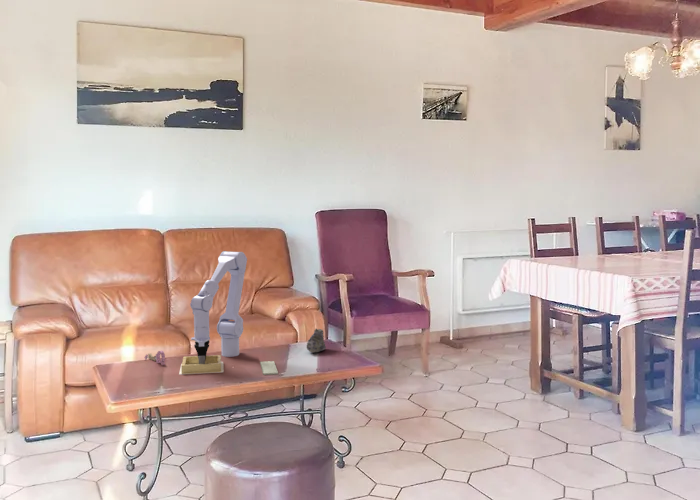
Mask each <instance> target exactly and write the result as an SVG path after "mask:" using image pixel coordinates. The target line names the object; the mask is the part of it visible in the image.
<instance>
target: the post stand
mask: <svg viewBox="0 0 700 500" xmlns="http://www.w3.org/2000/svg"><path fill="white" fill-rule="evenodd" d="M197 356H198V355H197ZM198 357H199V364H205V356H198ZM181 366H182V363H181V364H180V369H179V373H178V375H183V374H182V367H181ZM217 373H218V374H219V373H224V361H221V372H206V373H205V374H217ZM195 374H201V375H202V373H186V374H185V375H195Z"/></svg>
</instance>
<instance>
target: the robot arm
mask: <svg viewBox="0 0 700 500" xmlns="http://www.w3.org/2000/svg"><path fill="white" fill-rule="evenodd" d="M217 261H218V264H217V266H216V268H215V270H214V272H213V274H212V276H211V278H210V279H207V280H206V281H205V282H204V284H203V285H202V288H201V289H200V290H199V293H197V295H195V296H193V297H192V298H191V301H190V303H189V305H190V309H191V310H192V314H193V327H194V328H193V332H194V334H193V335H194V336H193V337H191V338H190V340H191V341H194V345H193V347H194V349H195V351H196V353H197V356H205V360H206V356H207V353H208V352H207V351H208V349H209V347H210V340H211V336H210V310H211V309H212V307H213V301H214V298H215V295H216V294H217V292H218V291H219V289H220V286H219V285H220V284H219V283H220V282H221V281H222V279H223V278H224V277H225V275H226V274H227V272H228V273H229V274H230V281H229V287H228V293H227V294H228V295H227V299H226V306H225V312H224V313H223V314H221V315H220V316H219V320H218V323H217V325H216V332H217V333H218V335H219V337H220V338H221V340H220V341H221V344H220V345H221V346H220V347H221V357H226V358H227V357H228V358H231V357H238V356H239V355H240V338H241V336H242V334H243V332H244V319H243V318H242V316H241V315H240V314H239V313H240V312H239V311H240V306H241V299H242V294H243V293H242V291H243V287H244V286H243V285H244V280H245V273H246V270H247V269H246V268H247V261H248V257H247V255H246V253H244V252H243V251H226V250H223V251H222V252H221V253H220V254H219V256H218V258H217ZM198 359H199V357H198Z"/></svg>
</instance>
